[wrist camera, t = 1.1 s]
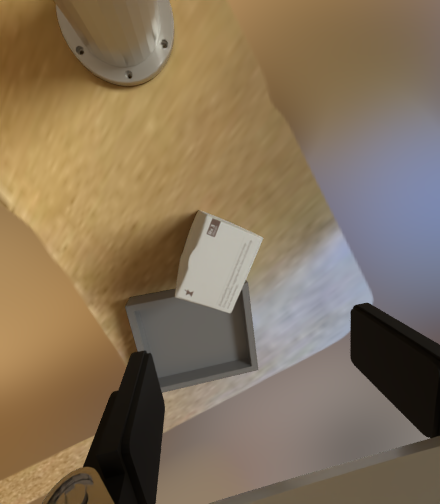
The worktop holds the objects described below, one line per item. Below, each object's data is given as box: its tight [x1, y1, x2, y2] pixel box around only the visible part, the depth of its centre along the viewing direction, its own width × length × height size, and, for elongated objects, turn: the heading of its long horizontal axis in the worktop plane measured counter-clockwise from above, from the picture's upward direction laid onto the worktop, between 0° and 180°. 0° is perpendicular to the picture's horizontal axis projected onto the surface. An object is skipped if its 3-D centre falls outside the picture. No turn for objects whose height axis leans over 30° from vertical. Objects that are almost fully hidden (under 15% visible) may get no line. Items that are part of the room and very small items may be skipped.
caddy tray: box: [125, 280, 258, 393], centre depth 37 cm, size 16×18×3 cm
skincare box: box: [175, 210, 263, 313], centre depth 27 cm, size 8×6×15 cm
